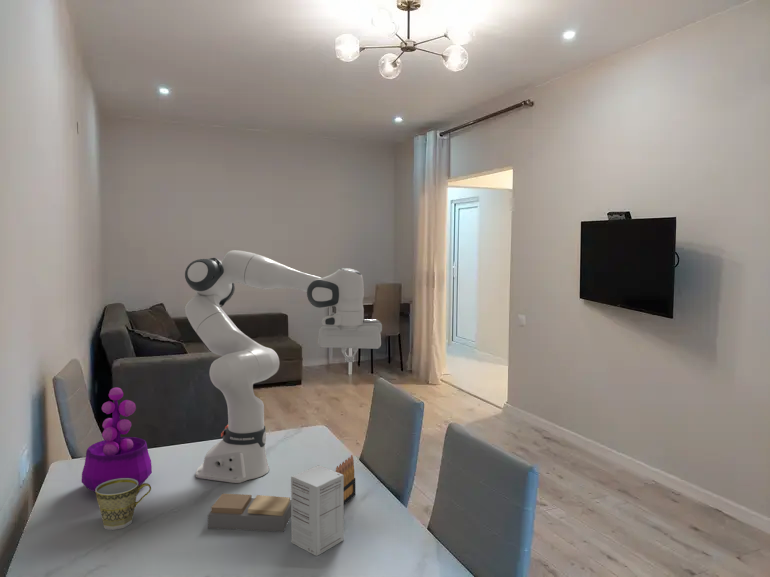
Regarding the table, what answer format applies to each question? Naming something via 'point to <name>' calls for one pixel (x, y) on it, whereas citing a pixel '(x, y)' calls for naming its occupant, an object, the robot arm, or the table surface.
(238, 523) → the floor base
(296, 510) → the supplement box
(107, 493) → the ceramic cup
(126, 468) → the decorative plant
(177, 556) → the table surface
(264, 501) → the oak plank
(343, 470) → the ammunition clip
